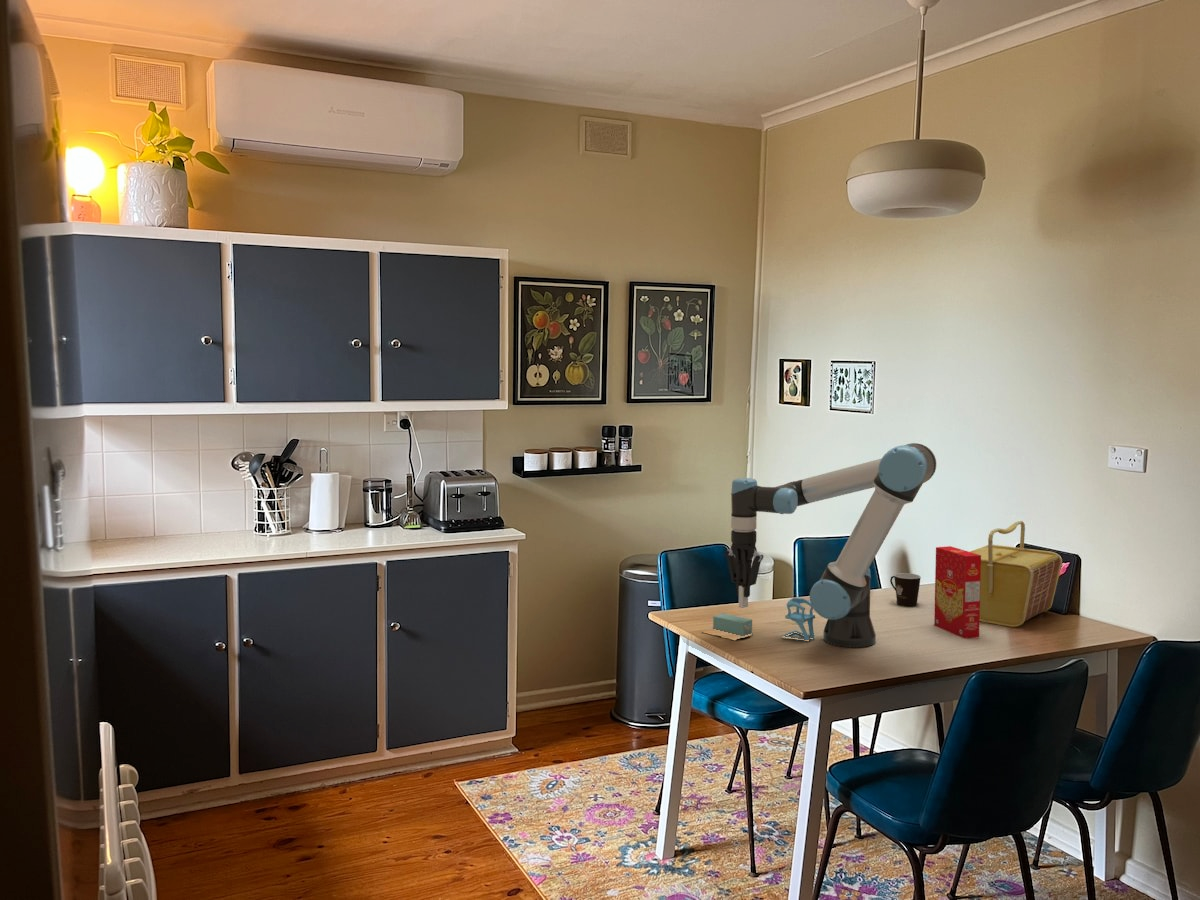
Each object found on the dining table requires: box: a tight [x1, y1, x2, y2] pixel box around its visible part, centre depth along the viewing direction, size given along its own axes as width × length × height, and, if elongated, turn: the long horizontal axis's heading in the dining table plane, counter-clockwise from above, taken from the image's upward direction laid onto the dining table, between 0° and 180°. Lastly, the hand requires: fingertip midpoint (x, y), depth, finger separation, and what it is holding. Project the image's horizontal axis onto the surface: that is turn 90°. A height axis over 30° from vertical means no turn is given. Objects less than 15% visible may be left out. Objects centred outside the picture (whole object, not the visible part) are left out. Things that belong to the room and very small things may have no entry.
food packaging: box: [933, 545, 981, 639], centre depth 281 cm, size 15×5×25 cm, turn 14°
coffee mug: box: [889, 572, 922, 608], centre depth 315 cm, size 12×9×10 cm
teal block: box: [712, 612, 753, 636], centre depth 280 cm, size 5×5×11 cm
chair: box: [781, 597, 816, 641], centre depth 276 cm, size 8×8×12 cm
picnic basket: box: [969, 520, 1063, 628], centre depth 298 cm, size 29×26×30 cm
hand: (743, 606), depth 277 cm, fingers closed
